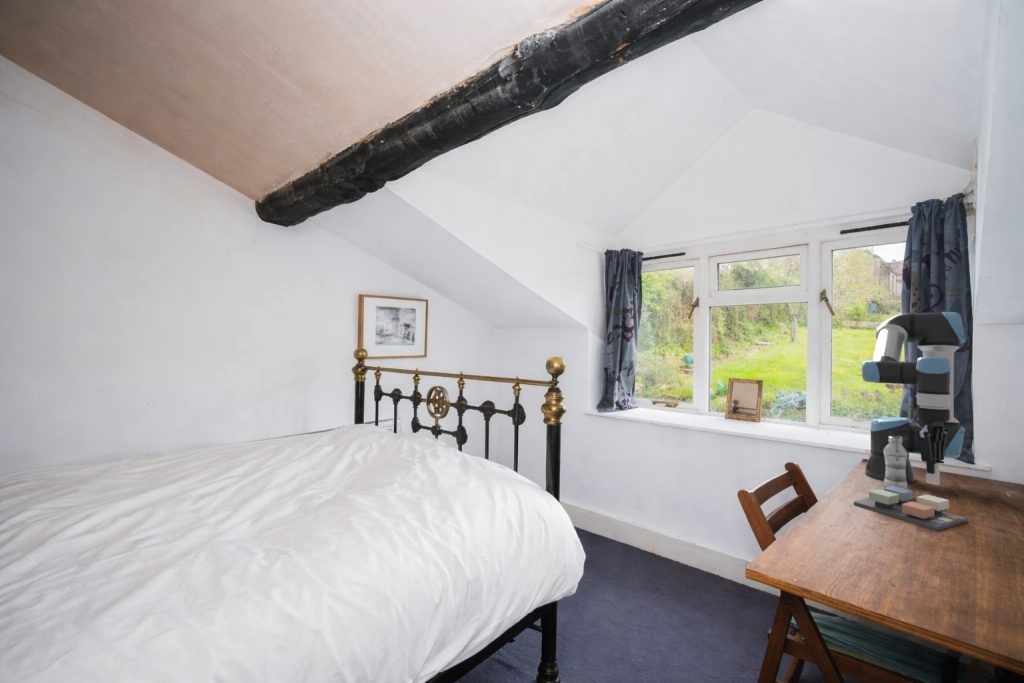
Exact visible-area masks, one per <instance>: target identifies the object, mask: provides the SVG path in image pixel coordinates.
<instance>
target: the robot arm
mask: <svg viewBox="0 0 1024 683" xmlns="http://www.w3.org/2000/svg"><path fill="white" fill-rule="evenodd" d="M962 322H963V321H962V316H961V314H959V313H958V312H956V311H955V312H954V311H951V312H950V311H935V312H932V311H931V312H907V313H906V312H905V313H901V314H897V315H895V316H892V317H890V318H888V319H886V320H884V321H883V322H882V323H881V324H880V325H879V326H878V327H877V329H876V332H875V339H876V345H875V348H874V351H873V356H872V359H871V360H865V361H863V362H862V364H861V365H862V366H861V377H862V380H863V381H864V382H866V383H875V384H895V385H898V384H899V385H910V386H911V385H912V386H913V385H914V386H916V395H914V396H915V399H916V405H917V407H916V422H912V421H911V422H910V419H909V418H908V417H901V416H898V417H897V416H890V417H888V416H887V417H884V416H883V417H877V418H874V419H872V420H871V422H870V430H869V432H870V455H869V458H868V460H867V462H866V464H865V466H864V467H865V468H864V474H866V476H869V477H870V478H874V479H877V480H881V481H884V479H885V471H886V465H885V458H884V452H883V450H884V448H885V447H886V445H888V444H889V441H888V440H889V436H899V437H902V441H903V443H901V444H902V445H903V447H904V448H905V449H906V451H907V460H906V468H905V474H906V482H907V483H913V482H915V481H916V474H915V471H914V468H913V466H912V464H911V460H910V454H917V455H920V457H921V458H920V459H921V462H924V463H925V483H926V484H931V485H934V486H940V482H941V480H940V475H941V474H940V473H941V472H940V467H941V466H940V464H944V463H945V458H948V459H957V458H959V457H960V456H961V452H962V449H963V448H962V447H963V444H964V436H965V431H966V429H965V427H963V426H960V421H959V420H958V419H957V418H955V416H954V415H955V413H954V412H955V410H954V405H955V404H954V399H955V398H954V396H955V395H954V392H955V390H954V384H955V382H954V381H955V380H954V377H955V376H954V375H955V373H954V372H955V370H954V368H955V367H954V366H955V359H954V358H955V352H957V350H959V349H960V344H964V343H966V337H965V331H964V326H963V323H962ZM905 343H909V344H910V343H911V344H915V343H917V348H918V349H919V351H921V352H922V356H920V357H917V359H916V361H901V357H902V352H903V351H902V350H903V345H904V344H905Z"/></svg>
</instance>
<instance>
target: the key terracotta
mask: <svg viewBox="0 0 1024 683" xmlns="http://www.w3.org/2000/svg"><path fill="white" fill-rule="evenodd" d="M902 512H903V513H906V514H909V515H913V516H916V517H920V518H923V519H925V518H929V517H932V516H934V507H931V506H927V505H923V504H920V503H917V501H908V503H904V504H902Z"/></svg>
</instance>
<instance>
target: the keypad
mask: <svg viewBox="0 0 1024 683" xmlns="http://www.w3.org/2000/svg"><path fill="white" fill-rule="evenodd" d="M908 502H909V501H908V500H906V501H901V500H899V502H898V503H894V504H890V505H887V504H884V503H880V502H877V501H874V500H870V499H869V497H867V498H862V499H859V500H855V501H854V500H853V505H854V506H858V507H861V508H864V509H868V510H871V511H874V512H876V513H880V514H884V515H887V516H890V517H893V518H896V519H898V520H899V519H900V520H903V521H906V522H910V523H912V524H914V525H915V524H917V525H920V526H922V527H924V528H925V527H926V528H929V529H933V530H935V531H940V530H943V529H946V528H947V529H948V528H950V527H953V526H957V525H960V524H963V523H966V522H968V517H966V516H962V515H958V514H954V513H950V512H947V511H943V510H941V511H937V510H934V516H932V517H929V518H925V519H923V518H920V517H916V516H913V515H909V514H906V513H903V512H902V504H904V503H908Z"/></svg>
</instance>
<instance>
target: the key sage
mask: <svg viewBox="0 0 1024 683" xmlns="http://www.w3.org/2000/svg"><path fill="white" fill-rule="evenodd" d="M868 498H869V499H870V500H874V501H877V502H880V503H884V504H887V505H890V504H894V503H898V502H899V494H895V493H892V492H888V491H884V489H880V488H878V489H874V490H869V491H868Z"/></svg>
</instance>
